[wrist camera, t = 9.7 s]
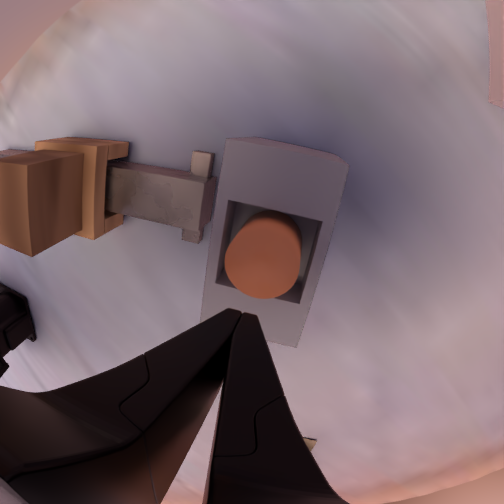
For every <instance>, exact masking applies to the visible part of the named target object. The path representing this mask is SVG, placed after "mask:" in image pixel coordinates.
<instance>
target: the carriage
mask: <svg viewBox="0 0 504 504" xmlns="http://www.w3.org/2000/svg"><path fill="white" fill-rule="evenodd" d="M128 147H129V142H122V141H112V140H102V139H90V138H76V137H64V138H57V139H49V140H43V141H36V142H35V151H32V152H27V153H22V154H17V155H13V156H8V157H4V158H0V244H2V245H5V246H7V247H9V248H12V249H14V250H16V251H19V252H21V253H23V254H26V255H28V256H31V257H33V256H35V255H37V254H39V253H40V252H42V251H44V250H46V249H47V248H49V247H51V246H53V245H55V244H56V243H58V242H60V241H62V240H64V239H66V238H68V237H69V236H71V235H73V234H75V235H78V236H81V237H85V238H88V239H92V240H95V239H97V238H98V237H100V236H102V235H104V234H105V233H107V232H109V231H111V230H112V229H114V228H116V227H118V226H119V225H121V224H123V214H119V213H115V212H110V211H106V210H104V204H105V182H106V166H107V160H111V159H116V158H121V157H126V156H128Z"/></svg>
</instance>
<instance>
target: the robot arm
mask: <svg viewBox="0 0 504 504" xmlns="http://www.w3.org/2000/svg"><path fill="white" fill-rule="evenodd" d="M26 338H27V339H29V340H31V341H32V342H34V341H36V336H35V332H34V328H33V324H32V320H31V316H30V312H29V308H28V303H27V300H26V298H25V297H24V296H22V295H20V294H18V293H17V292H15V291H13V290H11V289H9V288H7V287H6V286H4V285H2V284H0V378H1V377H2V375H3V374H4V373H5V372H6V370H7V369H8V368H9V365H8V363H6V361H5V360H4V358H3V357H4V356H5V355H6V354H7V353H8V352H9V351H10V350H14V349H15V348H16V347H17V346H19V345H20V344H21V343H22V342H23V341H24V340H25V339H26ZM222 383H223V385H222ZM221 386H222V391H221V396H220V402H219V408H218V414H217V420H216V426H215V431H214V437H213V443H212V449H211V455H210V461H209V467H208V473H207V479H206V485H205V491H204V497H203V503H202V504H349V503H348V502H346V501H345V500H343V499H342V498H341V497H340V496H339V495H338V494H337V493H336V492H335V491H334V490H333V489H332V487H331V486H330V485H329V483H328V482H327V480H326V478H325V477H324V475H323V473H322V471H321V470H320V468H319V466H318V464H317V462H316V461H315V459H314V457H313V455H312V453H311V452H310V450H309V448H308V446H307V444H306V443H305V441H304V439H303V437H302V435H301V433H300V431H299V429H298V427H297V425H296V423H295V420H294V418H293V415H292V413H291V411H290V408H289V405H288V402H287V399H286V397H285V396H284V391H283V388H282V386H281V383H280V380H279V377H278V374H277V371H276V368H275V365H274V362H273V360H272V357H271V354H270V351H269V348H268V345H267V342H266V339H265V336H264V333H263V330H262V327H261V324H260V321H259V318H258V316H257V315H255V314H251V313H247V312H243V313H242V312H241V311H240V310H236V309H232V308H226V309H225V310H223V311H221V312H219V313H217V314H216V315H214V316H212V317H210V318H208V319H207V320H205V321H203V322H201V323H199V324H198V325H196V326H194V327H192V328H190V329H188V330H187V331H185V332H183V333H181V334H179V335H177V336H176V337H174V338H172V339H170V340H168V341H166V342H164V343H162V344H161V345H159V346H157V347H155V348H153V349H151V350H149V351H147V352H146V353H144V354H141V355H140V356H138V357H136V358H134V359H132V360H130V361H128V362H126V363H124V364H121V365H119V366H117V367H115V368H113V369H110V370H108V371H105V372H103V373H100V374H98V375H95V376H92V377H89V378H87V379H84V380H81V381H78V382H75V383H72V384H70V385H67V386H64V387H61V388H58V389H55V390H51V391H47V392H38V393H34V392H25V391H20V390H16V389H12V388H8V387H4V386H0V504H161V502H162V500H163V498H164V496H165V495H166V493H167V491H168V489H169V487H170V485H171V483H172V481H173V480H174V478H175V476H176V474H177V472H178V470H179V468H180V466H181V465H182V463H183V461H184V459H185V457H186V455H187V453H188V451H189V449H190V447H191V445H192V443H193V441H194V440H195V438H196V436H197V434H198V432H199V430H200V428H201V426H202V424H203V422H204V420H205V418H206V416H207V414H208V412H209V410H210V408H211V406H212V404H213V402H214V400H215V398H216V396H217V394H218V392H219V390H220V388H221Z"/></svg>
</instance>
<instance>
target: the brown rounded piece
mask: <svg viewBox="0 0 504 504" xmlns="http://www.w3.org/2000/svg"><path fill="white" fill-rule="evenodd" d="M301 248H302V236H301V232H300V229H299V227H298V226H297V224H296V223H295V222H294V221H293V219H291V218H290V217H289V216H287V215H286V214H284V213H281V212H278V211H272V210H268V211H262V212H259V213H256V214H254V215H253V216H251V217H250V218H249V219H248V220H247V221H246V223H245V224H244V225H243V227H242V228H241V229H240V231H239V232H238V234H237V235H236V236H235V238H234V239H233V240H232V242H231V243H230V245H229V246H228V248H227V251H226V254H225V261H224V262H225V270H226V273H227V275H228V278H229V279H230V281H231V282H232V284H233V285H234V286H235V287H236V288H237V289H238V290H240V291H241V292H242V293H244V294H246V295H248V296H251V297H254V298H259V299H270V298H275V297H278V296H280V295H282V294H284V293H286V292H287V291H288V290H289V289H290V288H291V287H292V286H293V285H294V283H295V282H296V280H297V277H298V274H299V269H300V259H301Z"/></svg>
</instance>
